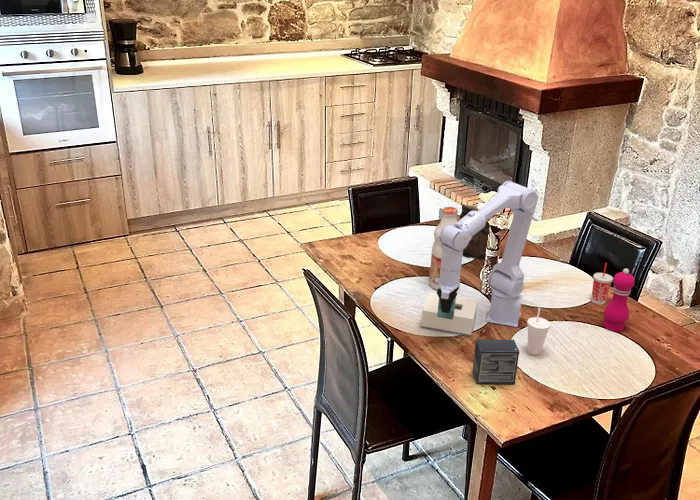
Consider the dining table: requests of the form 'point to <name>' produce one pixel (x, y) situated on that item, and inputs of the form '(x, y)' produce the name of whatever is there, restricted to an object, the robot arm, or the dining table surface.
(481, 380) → the small box
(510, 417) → the dining table surface
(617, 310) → the pepper mill
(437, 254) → the fruit juice
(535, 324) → the smoothie
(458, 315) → the money box
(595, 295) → the beverage cup
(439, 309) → the block
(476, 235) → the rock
